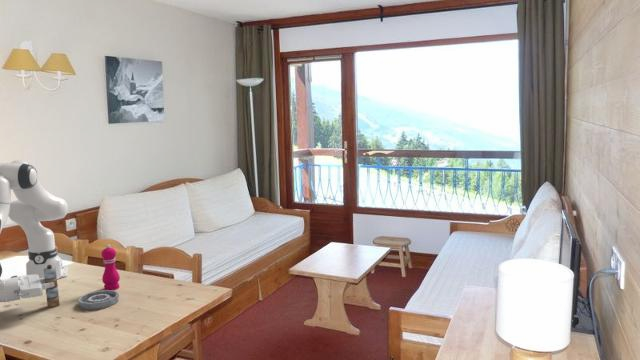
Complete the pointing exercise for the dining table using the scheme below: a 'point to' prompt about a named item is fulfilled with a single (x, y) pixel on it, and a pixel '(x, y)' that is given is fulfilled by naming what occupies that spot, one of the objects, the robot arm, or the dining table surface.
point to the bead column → (52, 291)
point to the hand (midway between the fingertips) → (53, 281)
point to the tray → (98, 300)
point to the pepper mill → (110, 269)
